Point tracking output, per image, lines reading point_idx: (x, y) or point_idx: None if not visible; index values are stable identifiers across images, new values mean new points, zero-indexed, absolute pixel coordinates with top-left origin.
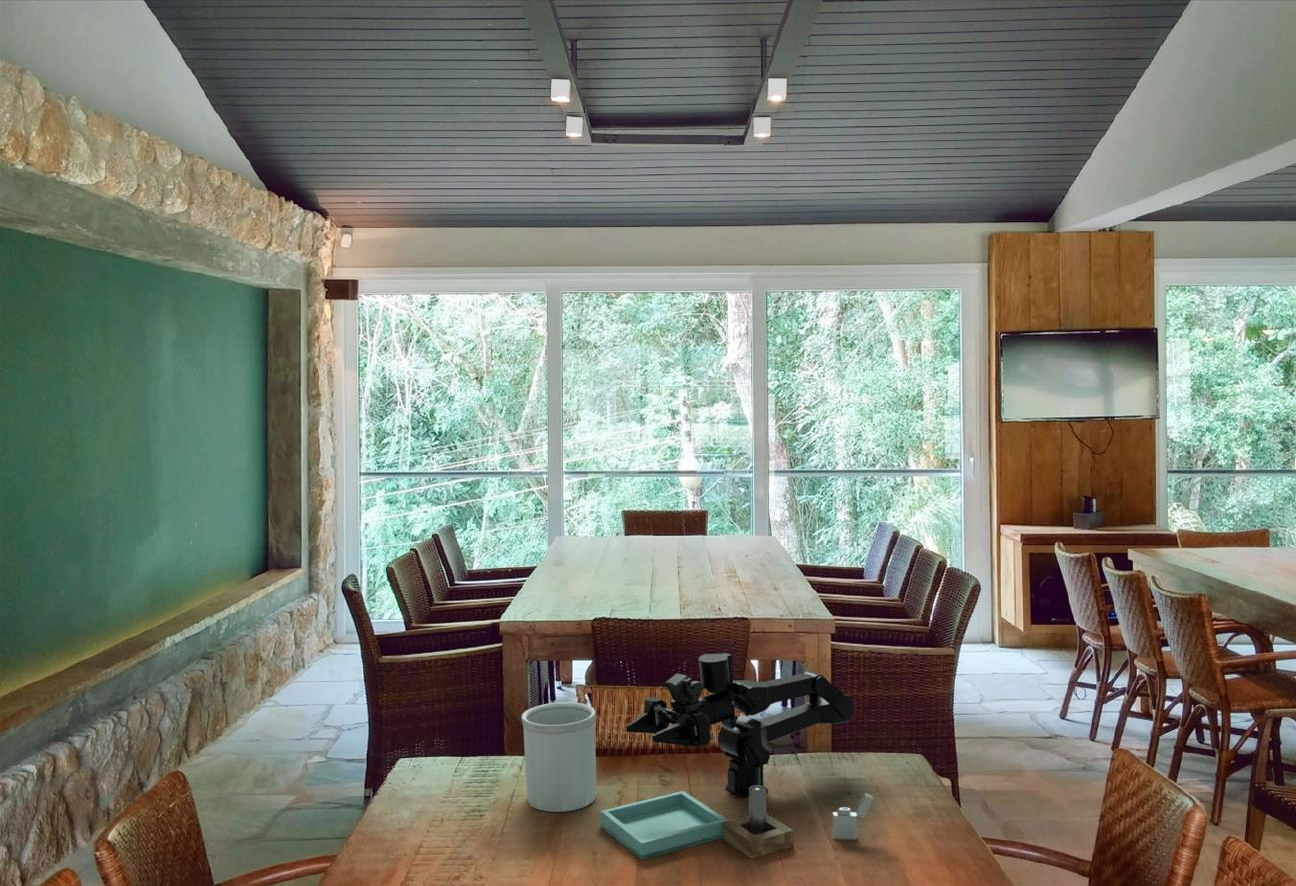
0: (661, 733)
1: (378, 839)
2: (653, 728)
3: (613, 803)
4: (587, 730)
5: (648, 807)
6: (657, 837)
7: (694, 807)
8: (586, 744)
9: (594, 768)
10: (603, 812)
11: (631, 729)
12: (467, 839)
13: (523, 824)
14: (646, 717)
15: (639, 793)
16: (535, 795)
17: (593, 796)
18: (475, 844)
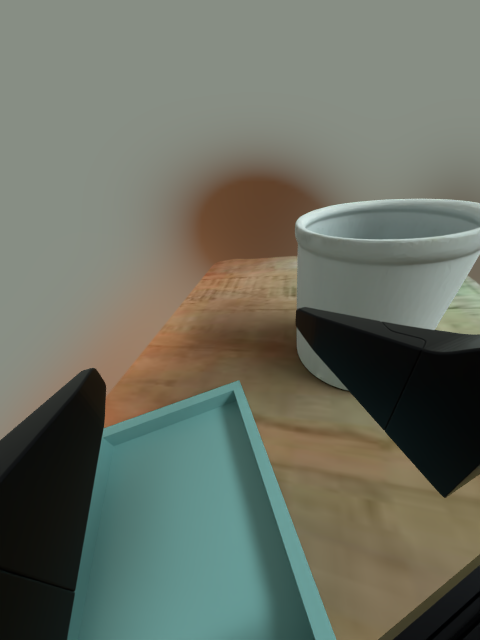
0: (45, 406)
1: (257, 263)
2: (427, 452)
3: (337, 422)
4: (340, 268)
5: (264, 485)
6: None
7: None
8: (331, 296)
9: None
10: (232, 383)
11: (305, 330)
12: (244, 294)
13: (267, 321)
14: (404, 361)
15: (412, 494)
16: None
17: (338, 383)
18: (233, 298)
